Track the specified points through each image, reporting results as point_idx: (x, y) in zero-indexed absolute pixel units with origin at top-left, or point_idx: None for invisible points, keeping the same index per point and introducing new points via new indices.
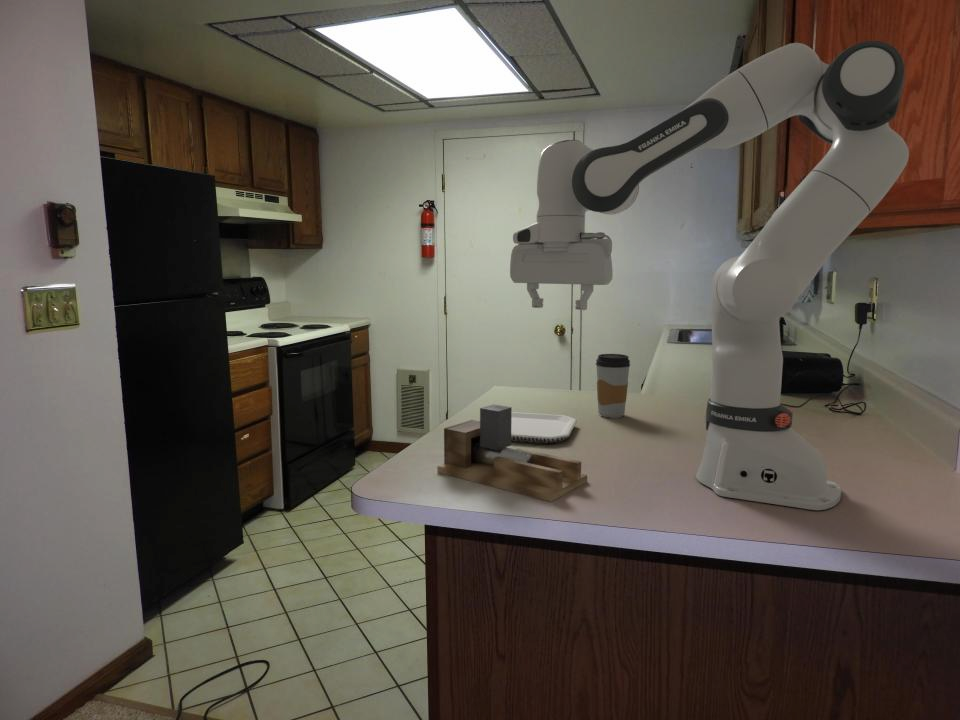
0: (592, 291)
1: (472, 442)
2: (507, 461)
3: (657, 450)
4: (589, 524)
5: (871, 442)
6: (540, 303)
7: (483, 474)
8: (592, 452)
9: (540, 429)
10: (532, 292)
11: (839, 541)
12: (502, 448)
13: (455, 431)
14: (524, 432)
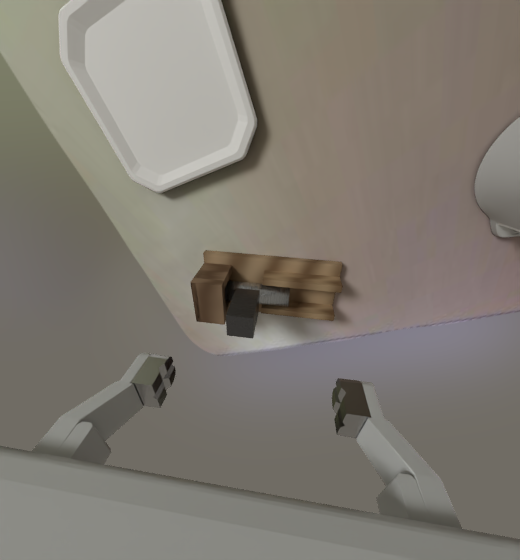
0: (433, 476)
1: None
2: (276, 314)
3: (414, 55)
4: (368, 335)
5: None
6: (164, 377)
7: None
8: (310, 149)
9: (189, 92)
10: (114, 428)
11: None
12: (259, 302)
13: (211, 322)
14: (184, 133)
